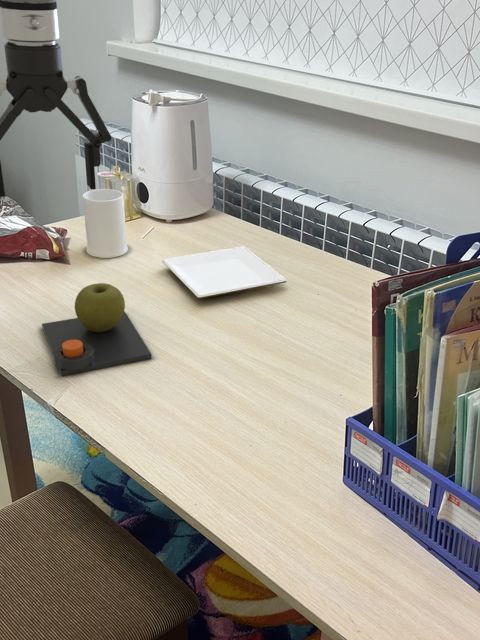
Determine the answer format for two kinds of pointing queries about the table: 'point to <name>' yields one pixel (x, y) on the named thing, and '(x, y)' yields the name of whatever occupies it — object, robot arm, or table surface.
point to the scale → (95, 345)
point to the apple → (99, 307)
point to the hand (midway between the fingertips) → (47, 190)
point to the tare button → (72, 348)
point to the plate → (223, 271)
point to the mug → (105, 223)
